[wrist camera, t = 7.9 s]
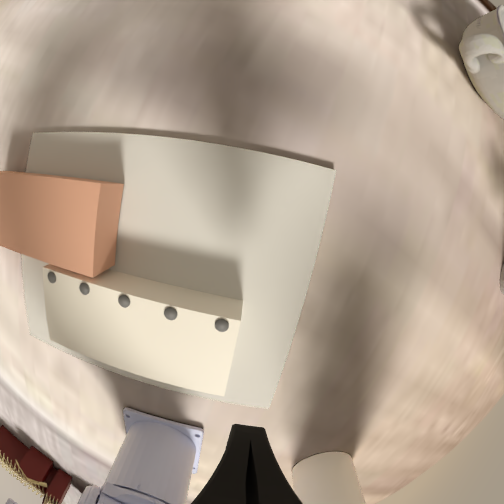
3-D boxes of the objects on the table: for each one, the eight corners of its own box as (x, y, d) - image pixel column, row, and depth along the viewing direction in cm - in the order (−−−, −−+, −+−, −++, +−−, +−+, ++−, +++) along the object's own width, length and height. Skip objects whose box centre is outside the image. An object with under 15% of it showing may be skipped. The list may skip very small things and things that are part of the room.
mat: (268, 405, 21) (268, 409, 20) (32, 332, 20) (30, 334, 19) (334, 170, 17) (336, 170, 16) (36, 133, 16) (32, 132, 15)
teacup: (500, 54, 13) (543, 37, 5) (521, 142, 15) (574, 140, 7) (407, 8, 13) (449, -34, 5) (435, 111, 15) (505, 87, 7)
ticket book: (227, 370, 19) (224, 397, 16) (69, 324, 19) (49, 340, 16) (243, 300, 18) (240, 321, 15) (66, 256, 17) (41, 267, 14)
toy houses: (153, 513, 29) (142, 551, 19) (129, 524, 33) (121, 552, 23) (-33, 377, 24) (-59, 401, 14) (-19, 420, 28) (-38, 440, 18)
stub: (114, 264, 17) (92, 277, 14) (1, 231, 17) (-21, 237, 14) (123, 183, 16) (101, 183, 13) (5, 170, 16) (-18, 171, 13)
